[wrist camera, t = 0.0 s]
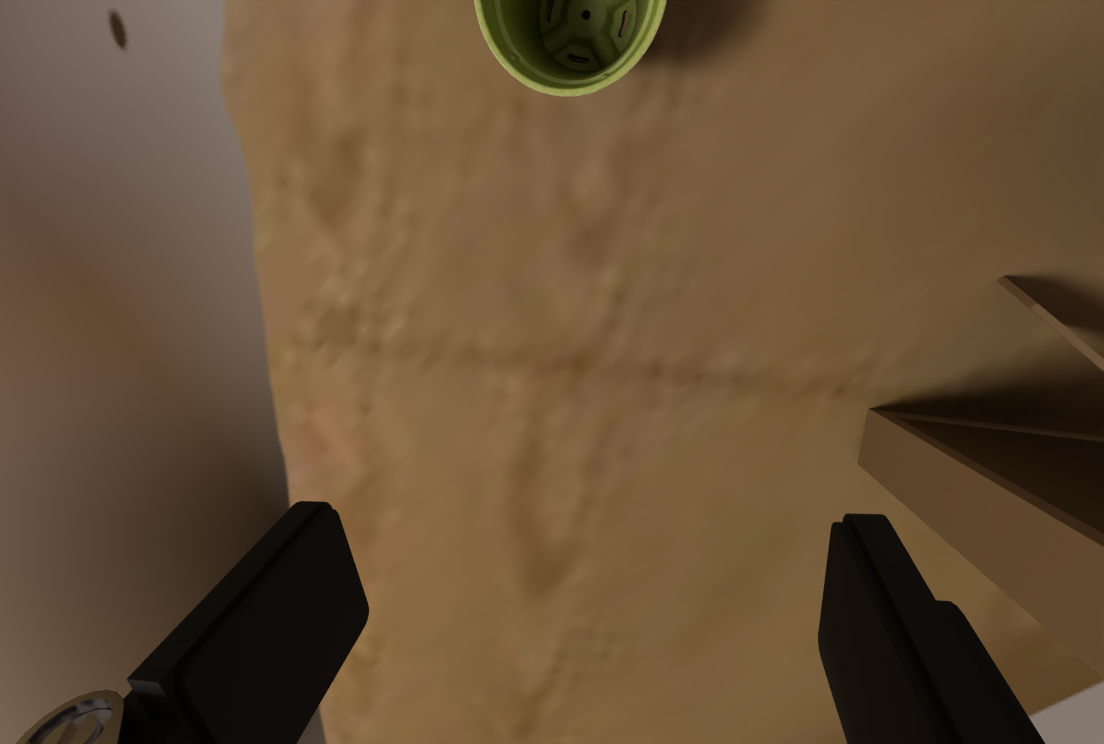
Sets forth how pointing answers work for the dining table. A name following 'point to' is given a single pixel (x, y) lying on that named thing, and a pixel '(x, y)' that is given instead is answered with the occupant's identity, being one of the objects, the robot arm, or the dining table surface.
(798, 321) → the dining table surface
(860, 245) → the dining table surface
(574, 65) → the plant pot
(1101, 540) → the photo frame
